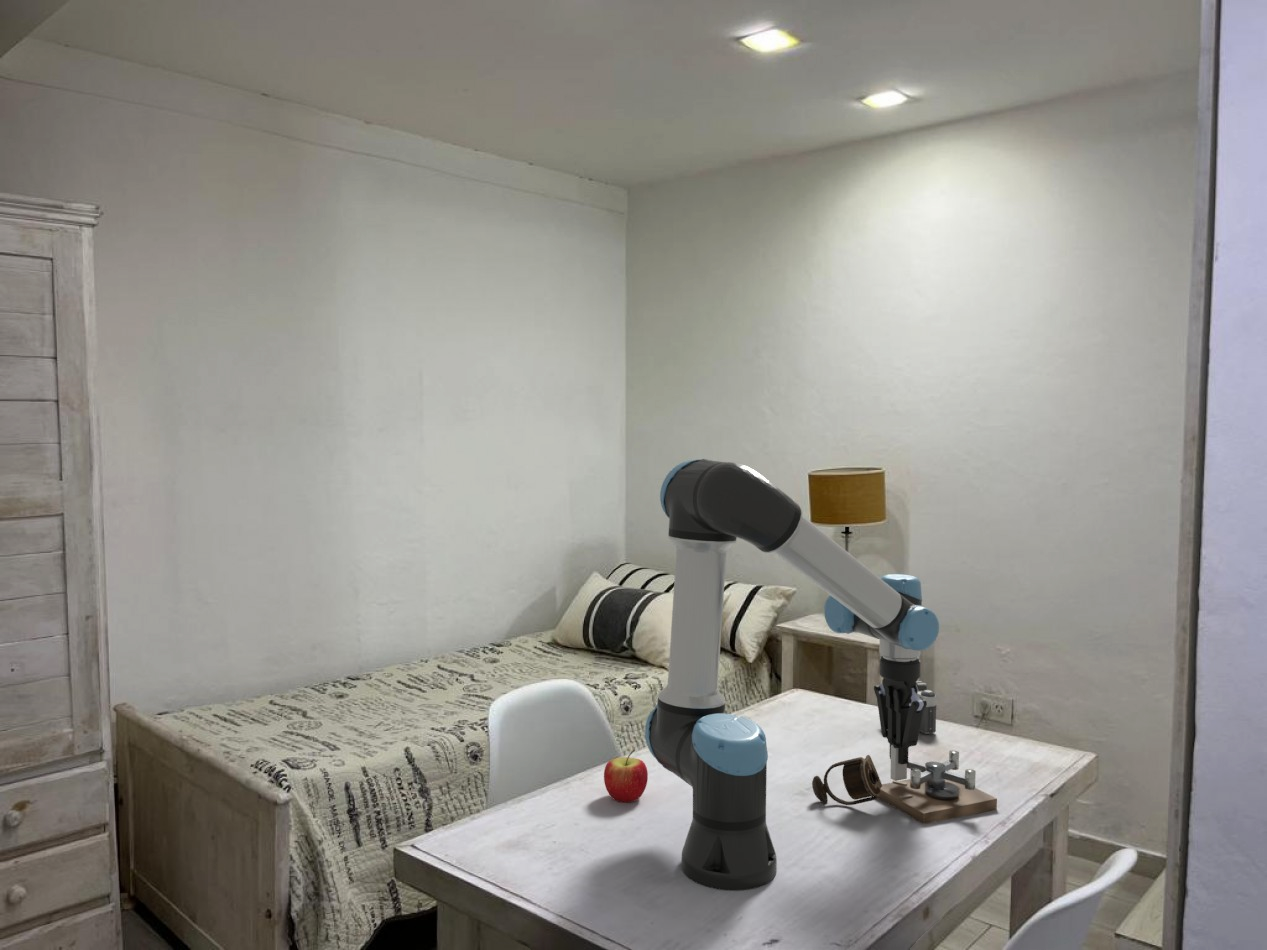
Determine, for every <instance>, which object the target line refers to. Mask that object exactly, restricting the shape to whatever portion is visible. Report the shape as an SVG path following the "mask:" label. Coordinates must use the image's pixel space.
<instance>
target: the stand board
mask: <svg viewBox="0 0 1267 950" xmlns="http://www.w3.org/2000/svg"><path fill="white" fill-rule="evenodd" d="M945 782H949V783H952V784H955V785H956V786H958V787H959V798H958V799H956V800H952V801H942V800H937V799H933V798H931V797H929V796H927V795H926V793H925V783H923V784H921V786H920V789H912V788H911V787H910V778H909V779H908V778H907V779H903V780H897V781H894V780H892V782H887V783H883V784H882V787H881V789H880V793H879V797H878V798H877V799H879V800H880V801H882V802H884V803H885V804H888V805H890V806H891V807H893V808H895V809H896V810H898V811H900V812H902V813H903V814H905V815H907V816H909V817H910V818H912V819H914V820H916V821H917V822H918V823H919V822H920V823H921V824H923V825H926V824H929V823H935V822H940V821H945V820H950V819H956V818H961V817H964V816H971V815H975V814H980V813H985V812H989V811H994V810H997V807H998V805H997V804H998V798H997V797H995V796H993V795H991V794H988V792H987V793H986V792H984V791H982V790H981V789H978V788H976V787H975V789H974V790H968V789H966V788H965V785H963V784H959V783H956V782H953V781H949V780H946V779H945Z"/></svg>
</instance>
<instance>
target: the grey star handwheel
mask: <svg viewBox="0 0 1267 950" xmlns="http://www.w3.org/2000/svg"><path fill="white" fill-rule="evenodd" d="M959 766H960V751H958V750H956V749H955V750H954V749H951V750H949V751H948V760H946V761H943V762H940V761H939V762H938V761H926V762H925V763H922V762H919V761H914V760H913V759H912V760H911V759H908V764H907V769H910V777H909V779H910V787H911V788H912V789H920V786H921V784H923V783H925V793H926V795H927V796H929V797H931V798H933V799H937V800H942V801H952V800H956V799H958V798H959V787H958V786H956V785H955V784H952V783H949V782H945V779H946V780H949V781H953V782H956V783H959V784H963V785H965V788H966V789H968V790H974V789H975V788H976V775H977V774H976V773H977V772H976V770H974V769H972V768H966V769H964V775H962V774H960V773H956V772H952V771H958V770H959V769H960V768H959ZM951 770H952V771H951Z"/></svg>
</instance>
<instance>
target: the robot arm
mask: <svg viewBox="0 0 1267 950" xmlns="http://www.w3.org/2000/svg"><path fill="white" fill-rule="evenodd" d="M659 494H660V495H659V499H660V500H659V501H660V506H661V508H662V511H663V513H665V516H666V517H667V518H668V519H669V520H668V521H669V522H668V538H669V540H670V541H671V542H672V544H673V545H675V550H676V551H675V563H674V564H675V565H674V567H675V568H674V580H673V581H674V582H673V583H674V584H673V597H672V598H673V599H672V610H671V612H672V613H671V614H672V615H671V629H670V642H669V643H670V644H669V658H668V660H669V661H668V672H667V673H668V674H667V675H668V677H667V685H666V686H665V687H664V688H662V690H660V691H659V692H658V693H657V694H658V695H657V703H656V704H655V705H654V708H653V710H651V711H650V713H649V714H648V716H647V718H646V721H645V728H644V738H645V743H646V746H647V749H648V750H649V752H650V753H651V756H653V758H655V760H656V762H657V763H659V764H660V765H661V766H662V767H663V768H664V769H665V770H668V771H669V772H671V773H673V774H674V775H676V776H677V777H678V778H679V779H681V780H682V781H684V782H685V783H686V784H688V785H689V786H690V787H692V820H691V823H690V826H689V829H688V832H687V835H686V838H685V842H684V844H683V847H682V850H681V871H682V873H683V874H684V876H686V877H687V879H689V880H690V881H692V882H694V883H696V884H698V885H700V886H703V887H707V888H709V889H715V890H721V891H747V890H752V889H756V888H759V887H762V886H764V885H765V886H766V885H767V884H768V883H770V882H771V881H773V879H774V878H775V877H776V875H777V870H778V869H777V865H778V864H777V853H776V851H775V848H774V844H773V840H772V838H771V835H770V831H769V828H768V825H767V772H768V771H767V768H768V767H767V762H768V758H769V756H768V755H769V754H768V746H767V738H766V734H765V732H764V730H763V729H762V727H761V726H760V725H759V724H758V723H756V722H755V721H753V720H751V719H750V718H747V717H744V716H743V715H742V716H736V714H732V713H726V698H725V696H723V695H722V694H721V692H720V691H719V689H718V685H719V671H720V670H719V669H720V654H721V643H722V642H721V641H722V626H723V625H722V624H723V611H724V610H723V609H724V608H723V607H724V595H725V584H726V583H725V579H726V567H727V566H726V565H727V564H726V563H727V552H728V550H730V548H731V547H732V546H734V545H735V544H736V543H737V539H740V540H743V541H745V542H747V543H748V544H751V545H753V546H754V547H755V548H757V549H759V550H760V551H761V552H763V553H765V554H771V553H774V554H775V555H777V556H778V557H779V558H781V559H782V560H783V561H785V562H786V563H787V564H788V565H790V567H792V568H793V569H795V570H796V571H797V572H798V573H800V574H802V575H803V576H804V577H805V578H806V579H808V580H809V581H811V582H812V583H813V584H815V585H816V586H817V587H819V588H820V589H821V590H822V591H824V592H826V594H828V595H829V596H828V597H827V598H826V600H825V603H824V607H823V608H824V613H823V614H824V615H823V616H824V619H825V622H826V624H827V626H828V628H829V629H830V630H831V631H832V632H834V633H835V634H847V635H849V634H851V633H859V634H863V635H866V636H868V637H871V638H874V639H876V640H879V645H878V646H879V648H878V649H879V650H878V653H879V654H880V655H881V656H880V657H879V672H878V673H879V676H880V677H881V678H882V680H881V681H882V682H881V684H877V685H874V686H873V692H874V694H875V697H876V700H877V701H876V702H877V708H878V714H879V723H880V729H881V736H882V737H883V738H884V739H887V743H888V744H889V759H890V779H891V780H892V781H903V780H908V775H907V774H908V768H907V764H908V760H909V748H910V747H916V746H917V744H918V741H919V740H918V739H919V735H920V731H919V730H920V725H921V720H922V714H923V711H924V709H925V707H926V706H927V702H926V700H921V699H920V698H919V696H918V695H917V693H918V690H917V687H916V681H918V680H919V679H920V678H921V663H922V662H921V660H920V658H919V657H920V656H921V652H922V651H926V650H928V649H929V648H931V647H932V646H933V644H934V643H935V641H936V640H937V638H938V635H939V632H940V623H939V619H938V617H937V615H936V613H935V612H933V611H932V609H929V608H927V607H925V606H923V605H922V602H923V598H922V584H921V581H920V579H919V578H918V577H916V576H913V575H910V574H901V573H899V574H898V573H895V574H894V573H893V574H885V575H883V576H881V577H879V576H878V575H877V574H876V573H874V572H873V571H872V570H870V569H869V568H868V567H867V566H866V565H864V563H862V562H860V561H859V560H858V559H857V558H855V556H853V555H852V554H851V553H849V551H847V550H846V549H844V548H843V547H842V546H841V545H840V544H839V543H838V542H836V541H834V540H833V538H831V537H830V536H828V535H827V534H826V533H824V532H823V530H821V529H820V528H818V527H817V526H816V525H815V524H813V523H812V522H811V521H810V520H809V519H807V518H806V517H805V516H804V515H803V509H802V507H801V505H800V504H799V503H797V501H795V500H794V499H793V498H792V497H790V496H789V495H788V494H786V493H785V492H784V490H781V489H780V488H779V487H778V486H777V485H776V484H774V483H773V482H771V480H769V479H768V478H766V476H763V475H762V474H761V473H759V472H758V471H757V470H755V469H753V468H751V467H750V466H747V465H745V464H742V463H739V462H732V461H731V462H730V461H719V460H711V459H710V460H709V459H706V458H702V459H693V460H692V459H691V460H687V461H683V462H681V463H679V464H677V465H675V466H674V468H673V467H672V469H671V470H670V471H669V472H668V473H667V475H666V476H665V478H664V480H663V482H662V485H661V488H660V492H659Z"/></svg>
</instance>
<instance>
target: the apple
mask: <svg viewBox="0 0 1267 950" xmlns="http://www.w3.org/2000/svg"><path fill="white" fill-rule="evenodd" d="M635 751H636V749H635V748H634V749H632V751H631V752H630V753H629V755H628V756H627V757H624V756H621V757H616V758H613V759H611V760H609V761H608V762H607V763H606V765H605V767H604V772H603V783H604V786H605V789H606V791H607V793H608V795H609V796H610V797H611V799H613V800H614V801H616V802H619V803H632V802H635V801H637V800H638V799H640V798H641V797H642V795H643V794H644V792H645V790H646V788H647V785H648V778H649V777H648V776H649V773H648V768H647V766H646V763H645V762H644V761H643V760H641V759H639V758H634V757H630V756H631V755H632V754H633V753H634V752H635Z"/></svg>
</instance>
